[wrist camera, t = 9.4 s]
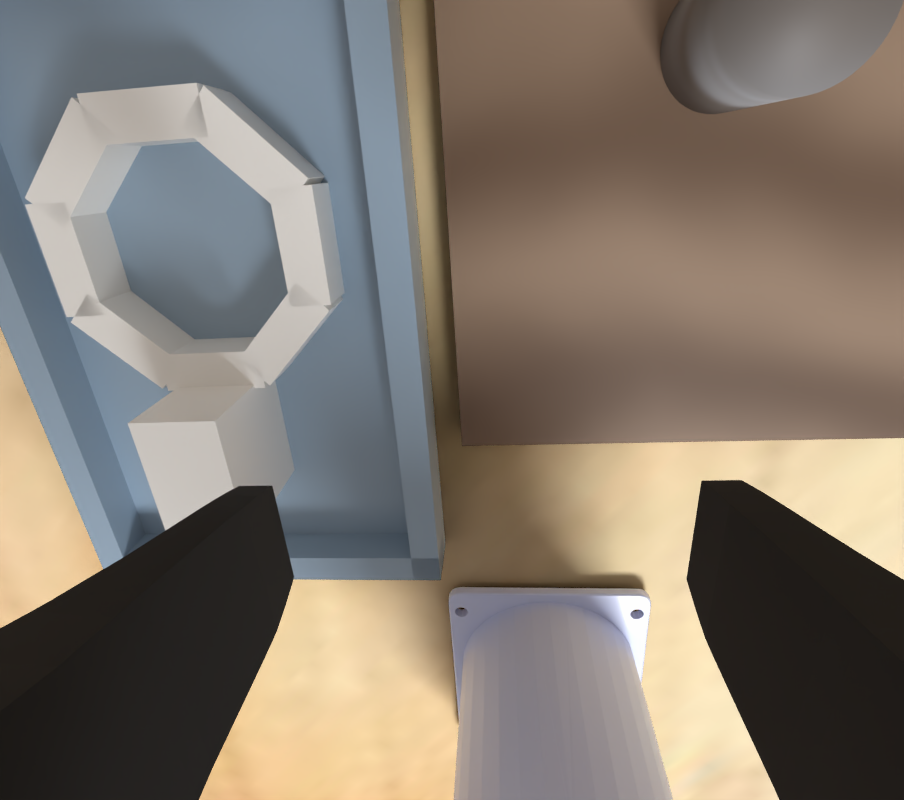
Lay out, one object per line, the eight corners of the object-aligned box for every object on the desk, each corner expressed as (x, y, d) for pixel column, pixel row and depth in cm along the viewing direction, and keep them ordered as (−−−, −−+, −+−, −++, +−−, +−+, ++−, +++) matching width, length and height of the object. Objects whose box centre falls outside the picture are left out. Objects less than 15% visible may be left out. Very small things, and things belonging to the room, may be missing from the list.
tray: (445, 543, 21) (440, 580, 19) (138, 544, 22) (107, 578, 20) (389, -113, 13) (372, -157, 11) (-89, -55, 14) (-176, -86, 12)
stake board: (883, 423, 18) (1018, 515, 13) (463, 432, 19) (453, 517, 14) (1090, -261, 11) (1503, -553, 7) (426, -174, 12) (386, -366, 8)
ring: (370, 468, 19) (341, 540, 16) (157, 471, 20) (81, 541, 16) (313, 82, 14) (250, 55, 11) (33, 107, 15) (-115, 89, 11)
